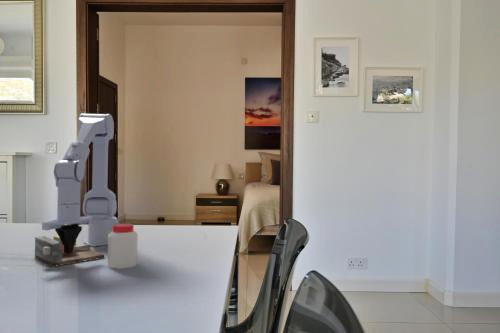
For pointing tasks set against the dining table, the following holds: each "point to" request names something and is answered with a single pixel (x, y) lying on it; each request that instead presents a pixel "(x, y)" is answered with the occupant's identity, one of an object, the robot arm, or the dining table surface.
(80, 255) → the rail bed
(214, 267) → the dining table surface
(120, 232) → the pill bottle
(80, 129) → the robot arm
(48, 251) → the gauge plunger
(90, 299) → the dining table surface
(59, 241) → the carriage
